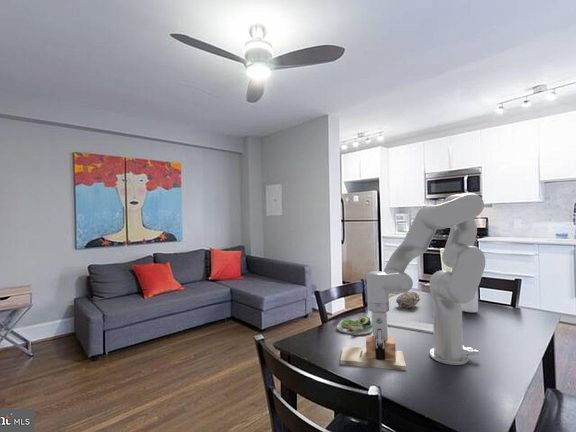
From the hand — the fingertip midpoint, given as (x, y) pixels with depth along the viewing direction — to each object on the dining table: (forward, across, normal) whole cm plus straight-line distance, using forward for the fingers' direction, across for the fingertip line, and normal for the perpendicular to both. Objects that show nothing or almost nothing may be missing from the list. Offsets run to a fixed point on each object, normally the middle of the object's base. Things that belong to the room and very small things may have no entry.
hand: (380, 354), depth 113 cm
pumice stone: (+3, +70, -18) cm, 72 cm away
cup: (+3, +65, -47) cm, 80 cm away
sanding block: (0, 0, 0) cm, 1 cm away
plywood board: (+2, 0, +3) cm, 3 cm away
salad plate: (+3, +31, +10) cm, 33 cm away
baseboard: (+3, +41, -11) cm, 42 cm away
